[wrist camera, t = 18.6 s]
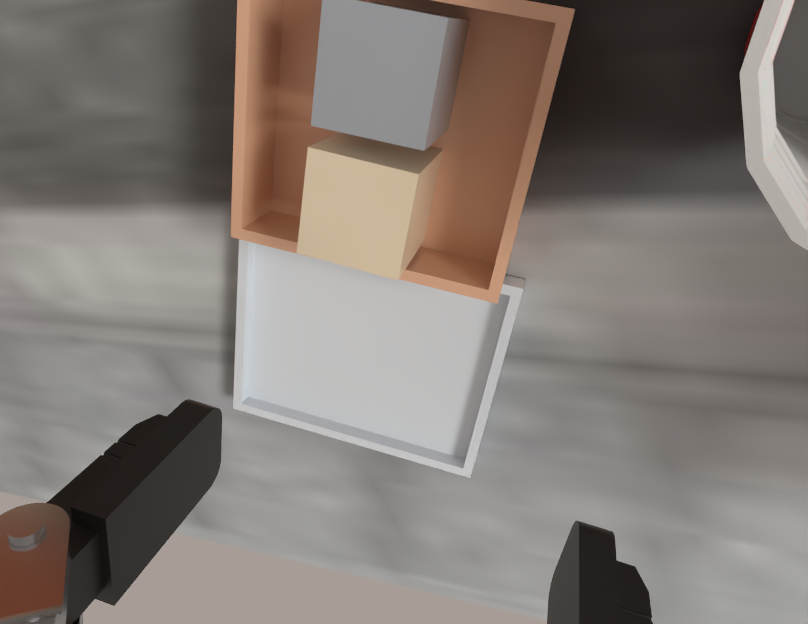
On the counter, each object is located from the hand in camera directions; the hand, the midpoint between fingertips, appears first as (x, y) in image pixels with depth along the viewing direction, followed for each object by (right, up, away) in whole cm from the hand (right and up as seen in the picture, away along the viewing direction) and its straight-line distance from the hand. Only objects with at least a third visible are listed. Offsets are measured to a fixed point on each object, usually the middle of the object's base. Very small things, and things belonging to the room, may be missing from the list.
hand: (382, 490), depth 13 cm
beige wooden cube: (0, +10, +14) cm, 17 cm away
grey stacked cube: (+1, +14, +11) cm, 18 cm away
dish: (0, +12, +13) cm, 18 cm away
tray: (-1, +2, +19) cm, 19 cm away
